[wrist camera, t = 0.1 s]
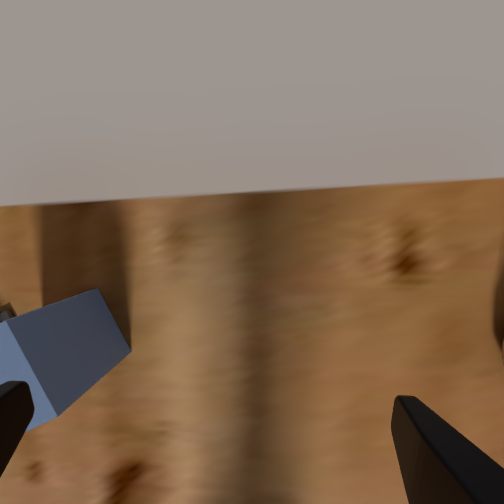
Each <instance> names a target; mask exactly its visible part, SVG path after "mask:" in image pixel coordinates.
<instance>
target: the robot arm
mask: <svg viewBox="0 0 504 504" xmlns="http://www.w3.org/2000/svg"><path fill="white" fill-rule="evenodd" d="M34 411H35V407H34V403H33V399H32V395H31V391H30V387H29V384H28V383H27V382H25V381H7V382H5V383H3V384H1V385H0V477H1V475H2V473H3V472H4V470H5V468H6V466H7V464H8V463H9V461H10V459H11V457H12V455H13V453H14V451H15V450H16V448H17V446H18V444H19V442H20V440H21V438H22V437H23V435H24V433H25V431H26V429H27V427H28V425H29V424H30V422H31V420H32V418H33V415H34ZM391 431H392V436H393V441H394V445H395V449H396V453H397V457H398V461H399V466H400V470H401V474H402V478H403V482H404V486H405V490H406V494H407V498H408V502H409V504H504V468H502V467H501V466H500V465H499V464H498V463H496V462H495V461H494V460H493V459H491V458H490V457H489V456H488V455H487V454H485V453H484V452H483V451H482V450H480V449H479V448H478V447H477V446H475V445H474V444H473V443H472V442H471V441H469V440H468V439H467V438H466V437H464V436H463V435H462V434H461V433H459V432H458V431H457V430H456V429H455V428H453V427H452V426H451V425H450V424H448V423H447V422H446V421H445V420H443V419H442V418H441V417H440V416H439V415H437V414H436V413H435V412H434V411H432V410H431V409H430V408H429V407H427V406H426V405H425V404H424V403H423V402H421V401H420V400H419V399H418V398H416V397H414V396H405V395H398V396H397V397H396V398H395V400H394V407H393V413H392V420H391Z"/></svg>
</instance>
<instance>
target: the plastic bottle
mask: <svg viewBox="0 0 504 504" xmlns="http://www.w3.org/2000/svg"><path fill="white" fill-rule="evenodd" d="M502 359H503V364H504V340H503V344H502Z"/></svg>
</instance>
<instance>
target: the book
mask: <svg viewBox="0 0 504 504" xmlns="http://www.w3.org/2000/svg"><path fill="white" fill-rule="evenodd" d="M130 352H131V350H130V348H129V346H128V344H127V342H126V341H125V339H124V337H123V335H122V333H121V331H120V329H119V327H118V325H117V324H116V322H115V320H114V318H113V316H112V314H111V312H110V310H109V309H108V307H107V305H106V303H105V301H104V299H103V297H102V295H101V293H100V292H99V290H98V288H96V289H93V290H89V291H87V292H84V293H81V294H78V295H75V296H73V297H70V298H67V299H64V300H61V301H58V302H56V303H53V304H50V305H47V306H44V307H42V308H39V309H36V310H33V311H30V312H27V313H25V314H22V315H19V316H16V317H13V318H11V319H8V320H5V321H3V322H2V323H0V385H1V384H3V383H5V382H7V381H25V382H27V383H28V384H29V387H30V391H31V395H32V399H33V403H34V407H35V411H34V415H33V418H32V420H31V422H30V424H29V425H28V427H27V429H26V431H25V432H27V431H29V430H31V429H33V428H35V427H37V426H39V425H41V424H43V423H45V422H48V421H50V420H52V419H54V418H56V417H58V416H59V415H60V414H61V413H62V412H63V411H65V410H66V409H67V408H68V407H69V406H70V405H71V404H73V403H74V402H75V401H76V400H77V399H78V398H79V397H80V396H82V395H83V394H84V393H85V392H86V391H87V390H88V389H90V388H91V387H92V386H93V385H94V384H95V383H96V382H98V381H99V380H100V379H101V378H102V377H103V376H104V375H105V374H107V373H108V372H109V371H110V370H111V369H112V368H113V367H115V366H116V365H117V364H118V363H119V362H120V361H121V360H122V359H124V358H125V357H126V356H127V355H128V354H129V353H130Z"/></svg>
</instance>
